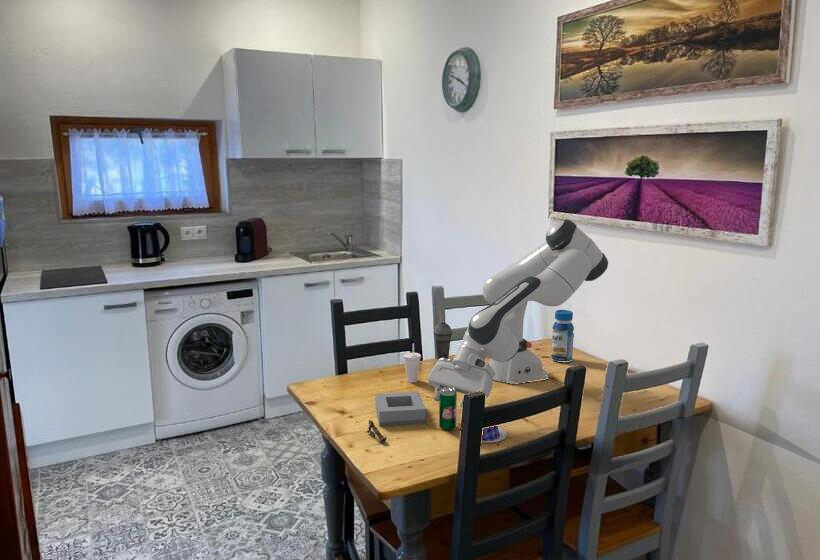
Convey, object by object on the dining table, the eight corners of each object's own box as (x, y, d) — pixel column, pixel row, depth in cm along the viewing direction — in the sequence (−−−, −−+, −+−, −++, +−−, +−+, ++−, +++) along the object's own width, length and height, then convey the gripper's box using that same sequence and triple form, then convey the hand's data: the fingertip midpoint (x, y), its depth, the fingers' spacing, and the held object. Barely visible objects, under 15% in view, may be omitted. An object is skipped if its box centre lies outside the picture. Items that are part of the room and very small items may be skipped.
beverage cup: (448, 364, 233) (449, 315, 230) (430, 362, 236) (431, 313, 232) (453, 359, 240) (454, 310, 236) (436, 357, 243) (436, 309, 239)
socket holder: (418, 404, 195) (418, 391, 194) (425, 423, 181) (425, 409, 181) (375, 407, 193) (375, 394, 192) (379, 425, 180) (379, 411, 179)
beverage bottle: (576, 363, 235) (579, 313, 232) (556, 364, 234) (558, 314, 230) (566, 356, 243) (568, 308, 240) (547, 357, 242) (549, 309, 238)
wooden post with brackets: (368, 428, 176) (372, 417, 174) (383, 448, 171) (387, 437, 169) (363, 430, 175) (367, 419, 173) (378, 450, 170) (381, 438, 168)
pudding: (481, 422, 182) (482, 406, 181) (514, 435, 174) (515, 418, 173) (456, 435, 174) (456, 418, 173) (490, 449, 166) (490, 431, 165)
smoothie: (413, 385, 212) (413, 347, 210) (399, 381, 216) (399, 344, 213) (424, 380, 217) (424, 342, 215) (410, 376, 221) (410, 339, 218)
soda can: (442, 432, 175) (442, 393, 173) (436, 425, 180) (437, 387, 178) (458, 430, 177) (459, 391, 174) (452, 423, 181) (453, 385, 179)
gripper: (435, 352, 187) (416, 391, 181) (493, 364, 175) (475, 407, 169) (442, 361, 191) (425, 400, 185) (500, 375, 179) (483, 416, 173)
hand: (449, 403), depth 177 cm, fingers open, 8 cm apart
